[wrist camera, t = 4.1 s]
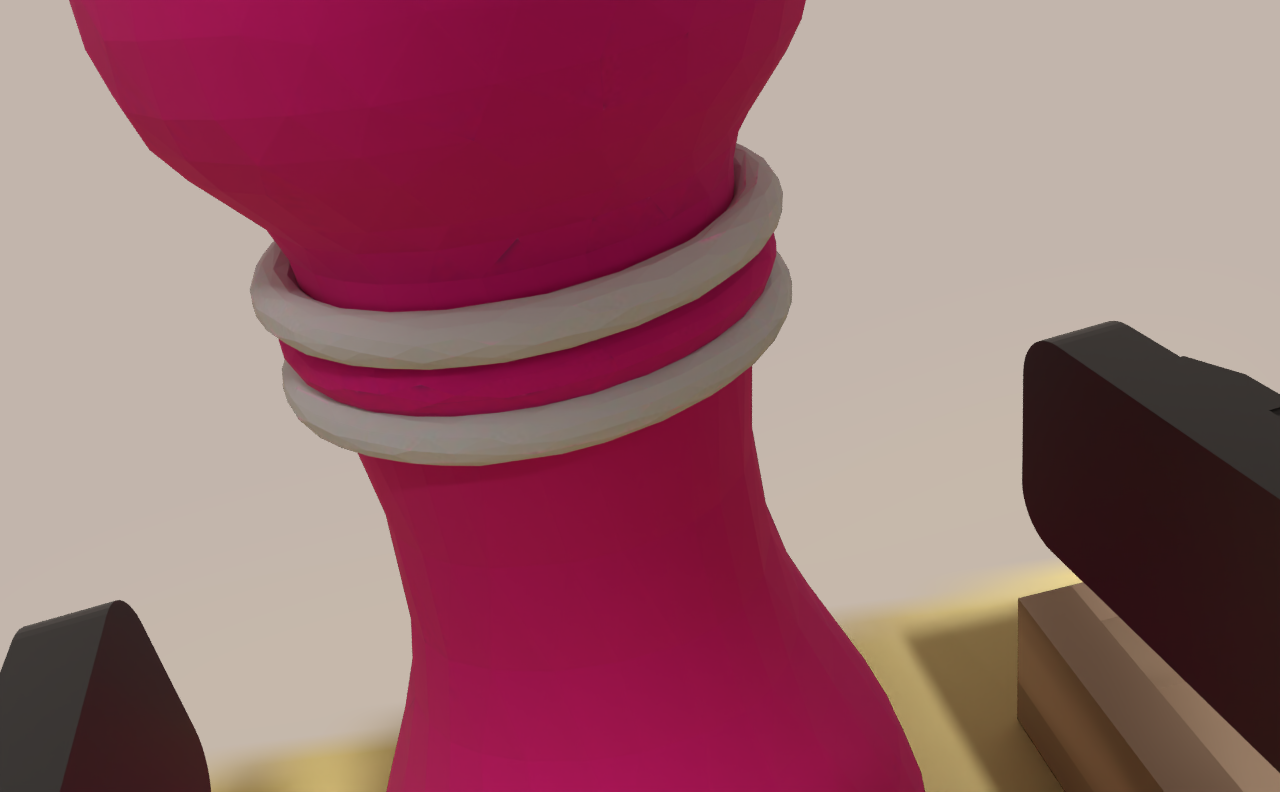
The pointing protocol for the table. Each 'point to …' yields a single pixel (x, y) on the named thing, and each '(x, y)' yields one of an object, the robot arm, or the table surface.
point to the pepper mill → (534, 364)
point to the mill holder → (1120, 707)
